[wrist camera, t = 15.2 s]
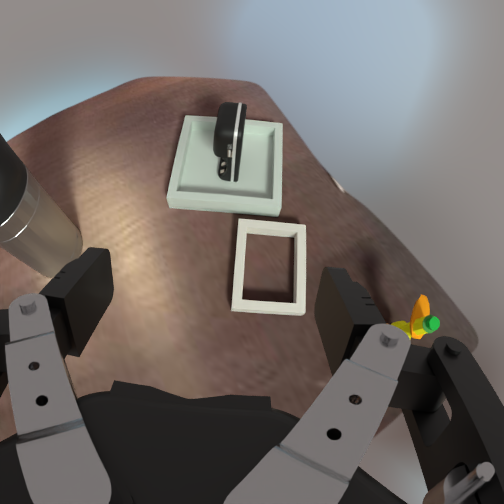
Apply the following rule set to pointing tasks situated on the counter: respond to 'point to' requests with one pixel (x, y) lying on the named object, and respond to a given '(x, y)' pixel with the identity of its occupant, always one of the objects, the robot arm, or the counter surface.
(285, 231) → the white rectangular frame
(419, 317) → the toy figure
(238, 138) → the battery charger
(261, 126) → the tray
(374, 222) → the counter surface
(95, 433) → the robot arm
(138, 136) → the counter surface
